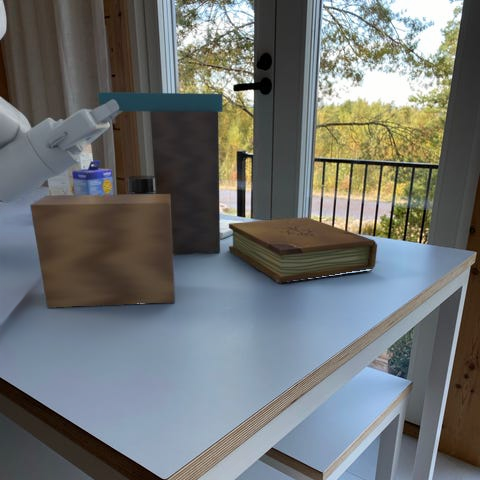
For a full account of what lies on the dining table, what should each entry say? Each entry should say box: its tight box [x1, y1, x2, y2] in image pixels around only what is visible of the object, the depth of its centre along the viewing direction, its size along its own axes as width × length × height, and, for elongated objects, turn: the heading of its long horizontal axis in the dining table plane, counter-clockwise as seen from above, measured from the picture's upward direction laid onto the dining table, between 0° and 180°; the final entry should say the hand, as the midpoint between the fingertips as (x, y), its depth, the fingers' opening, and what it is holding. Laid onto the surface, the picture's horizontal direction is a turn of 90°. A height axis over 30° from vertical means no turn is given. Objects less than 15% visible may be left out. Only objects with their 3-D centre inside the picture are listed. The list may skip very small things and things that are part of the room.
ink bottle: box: [127, 175, 156, 194], centre depth 113 cm, size 10×9×12 cm
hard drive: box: [220, 218, 243, 240], centre depth 112 cm, size 2×8×12 cm
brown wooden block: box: [29, 193, 176, 309], centre depth 69 cm, size 18×8×14 cm, turn 97°
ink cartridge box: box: [72, 160, 114, 195], centre depth 126 cm, size 10×6×14 cm, turn 154°
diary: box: [228, 216, 378, 283], centre depth 89 cm, size 23×19×6 cm
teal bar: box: [97, 91, 224, 113], centre depth 87 cm, size 22×3×3 cm, turn 97°
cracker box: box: [47, 142, 94, 195], centre depth 144 cm, size 14×6×21 cm, turn 66°
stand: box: [150, 111, 221, 255], centre depth 93 cm, size 12×8×26 cm, turn 97°
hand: (120, 103), depth 86 cm, fingers open, 8 cm apart
